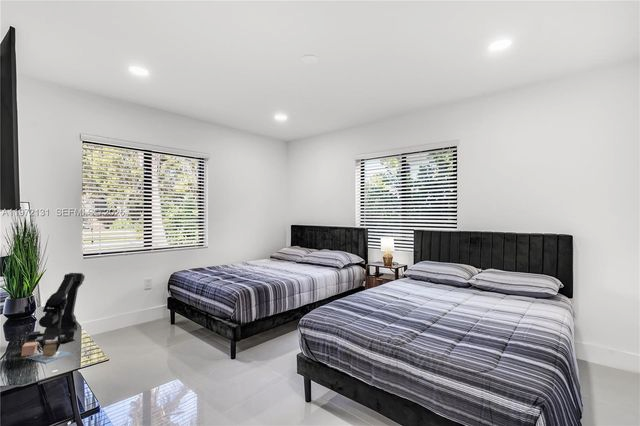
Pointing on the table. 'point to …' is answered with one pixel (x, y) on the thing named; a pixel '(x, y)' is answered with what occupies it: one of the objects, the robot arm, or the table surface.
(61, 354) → the board
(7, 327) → the table surface
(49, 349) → the walnut block
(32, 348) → the terracotta block
